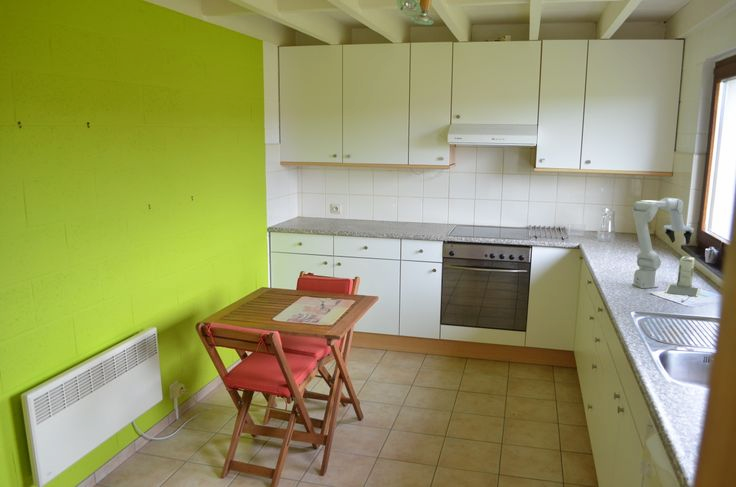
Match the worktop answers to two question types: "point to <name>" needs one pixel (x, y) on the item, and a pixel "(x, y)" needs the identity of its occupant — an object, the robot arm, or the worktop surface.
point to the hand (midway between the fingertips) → (680, 242)
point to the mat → (682, 290)
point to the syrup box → (686, 271)
